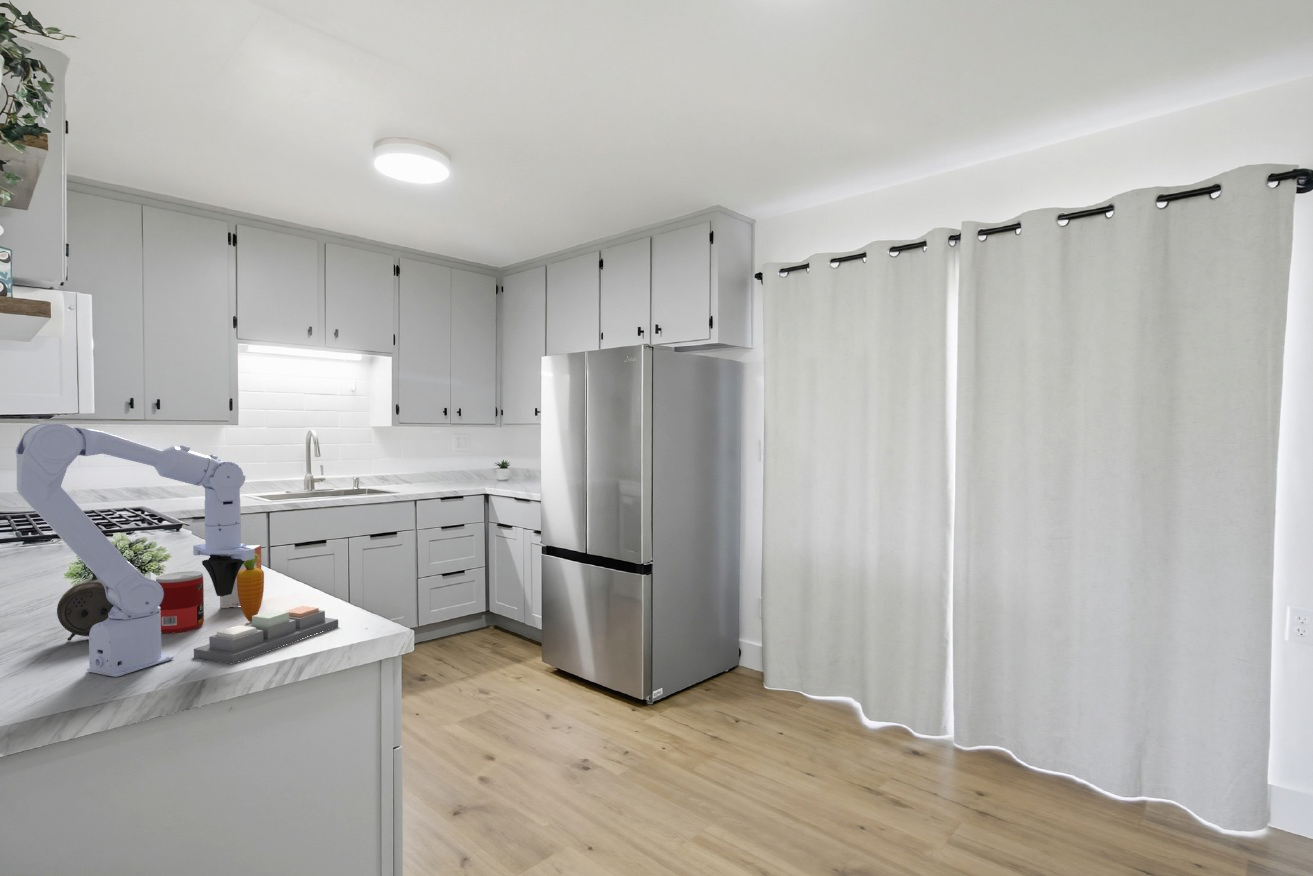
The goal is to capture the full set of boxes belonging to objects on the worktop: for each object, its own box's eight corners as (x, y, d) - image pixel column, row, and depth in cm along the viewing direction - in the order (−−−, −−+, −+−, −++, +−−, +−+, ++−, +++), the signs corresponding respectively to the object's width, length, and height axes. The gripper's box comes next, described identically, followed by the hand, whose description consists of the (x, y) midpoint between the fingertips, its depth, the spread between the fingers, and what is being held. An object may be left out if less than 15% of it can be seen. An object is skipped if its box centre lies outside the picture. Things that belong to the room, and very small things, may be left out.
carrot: (252, 626, 139) (250, 554, 139) (231, 624, 140) (230, 553, 140) (270, 619, 144) (269, 549, 144) (250, 618, 145) (249, 549, 145)
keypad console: (233, 664, 117) (232, 644, 117) (193, 657, 121) (193, 637, 121) (338, 626, 139) (338, 609, 139) (302, 621, 142) (302, 605, 142)
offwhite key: (233, 645, 120) (233, 634, 120) (216, 642, 122) (216, 632, 122) (256, 638, 124) (256, 627, 124) (239, 635, 126) (239, 625, 126)
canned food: (208, 627, 139) (207, 574, 138) (161, 636, 133) (160, 581, 132) (198, 620, 144) (197, 569, 144) (152, 628, 138) (151, 575, 138)
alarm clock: (134, 632, 136) (132, 552, 135) (125, 640, 131) (124, 557, 130) (65, 639, 131) (63, 557, 131) (53, 648, 126) (51, 562, 126)
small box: (250, 607, 154) (249, 550, 154) (219, 608, 153) (218, 551, 152) (262, 598, 162) (261, 544, 162) (233, 599, 160) (232, 545, 160)
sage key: (268, 628, 127) (268, 618, 127) (252, 626, 128) (252, 616, 128) (289, 622, 131) (288, 612, 131) (272, 620, 133) (272, 610, 132)
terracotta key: (300, 623, 133) (300, 613, 133) (284, 621, 135) (284, 611, 135) (318, 617, 138) (318, 608, 137) (302, 615, 139) (302, 605, 139)
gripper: (269, 523, 128) (270, 593, 129) (218, 519, 134) (219, 586, 134) (233, 528, 122) (234, 602, 122) (181, 524, 127) (182, 595, 128)
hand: (224, 595), depth 128 cm, fingers closed
